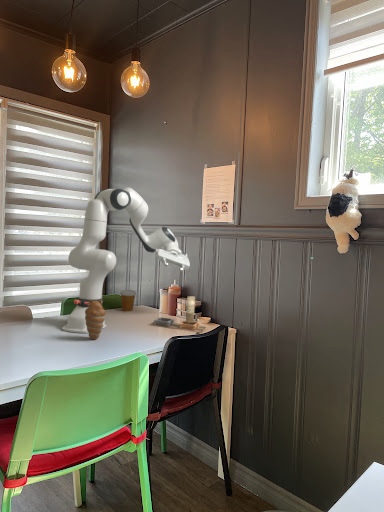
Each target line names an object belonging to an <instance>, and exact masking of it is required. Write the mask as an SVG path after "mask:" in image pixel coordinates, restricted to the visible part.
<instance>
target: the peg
mask: <svg viewBox="0 0 384 512" xmlns="http://www.w3.org/2000/svg"><path fill="white" fill-rule="evenodd" d="M186 299H187V300H186V315H185V320H186V324H190V325H194V322H195V308H196V307H195V305H196V296H193V295H192V296H191V295H190V296H189V295H188V296H187V297H186Z"/></svg>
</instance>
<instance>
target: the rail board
mask: <svg viewBox="0 0 384 512" xmlns="http://www.w3.org/2000/svg"><path fill="white" fill-rule="evenodd" d="M147 326H151V327H157V328H164V329H172V330H179V331H187V332H192V333H195V335H197V334H200V333H201V334H202V333H203V332H204V331H205V330H206V329H205V328H207V327H206V326H201V324H200V322H199V321H194V325H190V324H186V319H185V320H183V321H181V322H180V323H179V322H175V318H170V317H169V318H168V317H162V316H160V317H157V318H156V319H154V320H153V321H152V322H151V323H149V324H147ZM204 329H205V330H204ZM203 330H204V331H203ZM202 331H203V332H202ZM201 334H200V335H201Z"/></svg>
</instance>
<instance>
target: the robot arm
mask: <svg viewBox="0 0 384 512" xmlns="http://www.w3.org/2000/svg"><path fill="white" fill-rule="evenodd" d="M124 209H125V212H127V213H128V215H129V217H130V218H129V223H130V226H131V227H132V229H133V231H134V233H135V234H136V236H137V238H138V239H139V241H140V242H141V244H142V246H143V248H144V250H145V251H146V252H147V253H156V254H155V260H157V261H159V262H161V263H162V265H163V266H164V267H168V265H170V266H173V267H176V268H179V272H182V273H183V271H184V270H185V271H188V270H189V269H190V266H191V263H190V259H189V258H188V253H186V252H184V251H182V250H181V249H180V248H179V247H180V246H179V243H178V242H179V241H178V239H177V238H176V236H175V233H174V232H173V230H172V229H171V228H169V227H167V226H161V227H159V228H158V229H156V230H155V231H154V232H151V233H150V234H148V235H147V234H146V232H145V231H144V229H143V227H142V226H141V225H142V224H143V222H144V221H145V219H146V218H147V216H148V214H149V206H148V203H147V202H146V200H145V199H144V198H143V197H142V196H141V195H140V194H139V193H138V192H137V191H136V190H134V189H133V188H132V187H124V188H123V189H122V188H108V189H105V190H102V189H101V190H100V191H98V192H97V193H96V195H95V197H94V199H91V200H89V201H88V203H87V206H86V210H85V214H84V221H83V222H84V223H83V229H82V230H83V231H82V235H81V239H80V240H79V242H78V244H77V245H76V246H75V247H74V248H72V250H70V251H69V254H68V258H67V259H68V263H69V265H70V266H71V267H72V268H75V269H78V270H83V271H89V273H88V276H87V277H84V278H83V279H82V280H80V283H79V295H78V299H74V300H73V304H74V305H76V307H75V308H73V310H72V312H71V313H70V314H69V315H68V317H67V324H66V325H63V326H62V327H61V330H63V331H64V332H69V333H78V334H87V333H88V334H89V332H88V331H87V326H86V320H85V316H86V314H85V310H86V309H87V308H88V307H89V304H90V303H89V300H92V301H99V300H102V302H101V305H102V306H103V304H104V303H103V301H104V300H103V299H104V298H103V286H104V281H105V278H106V277H107V276H108V274H109V273H110V272H112V271H113V270H114V269H115V267H116V265H117V255H116V254H115V253H114V252H113V251H111V250H107V249H99V248H96V247H97V245H98V244H99V243H100V242H102V241H103V240H105V238H106V237H107V225H108V215H109V212H110V211H111V212H112V211H114V212H115V211H121V210H124ZM162 247H163V249H161V248H162ZM105 328H107V324H105V321H104V322H103V327H102V328H101V330H102V329H105Z"/></svg>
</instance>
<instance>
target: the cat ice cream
mask: <svg viewBox="0 0 384 512" xmlns="http://www.w3.org/2000/svg"><path fill="white" fill-rule="evenodd" d="M101 302H102V300H99V301H92V300H89V303H90V304H89V307H88V308H87V309H86V310H85V314H86V316H85V320H86V326H87V331H88V337H89V338H90V339H91V340H97V339H99V338H100V335H101V332H102V329H103V328H102V327H103V322H104V323H105V319H106V318H105V315H106V314H107V313H106V310H105V308H104V307H103V304H102V305H101ZM101 328H102V329H101Z"/></svg>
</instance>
